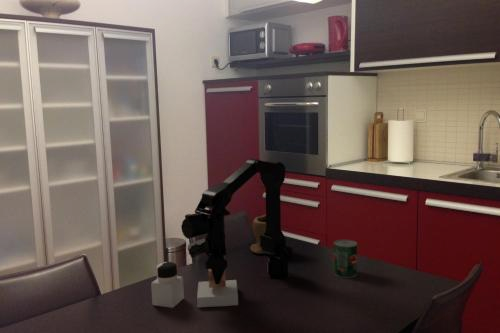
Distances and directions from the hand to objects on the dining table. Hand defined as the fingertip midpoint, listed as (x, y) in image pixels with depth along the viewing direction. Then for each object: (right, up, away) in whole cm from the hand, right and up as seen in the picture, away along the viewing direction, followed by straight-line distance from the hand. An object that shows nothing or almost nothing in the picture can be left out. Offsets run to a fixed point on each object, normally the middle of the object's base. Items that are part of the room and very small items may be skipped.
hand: (217, 280), depth 140 cm
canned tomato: (+43, -2, +18) cm, 47 cm away
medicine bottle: (-15, -6, -1) cm, 16 cm away
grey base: (0, -5, +1) cm, 6 cm away
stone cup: (+18, +1, +43) cm, 46 cm away
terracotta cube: (0, -1, 0) cm, 1 cm away
